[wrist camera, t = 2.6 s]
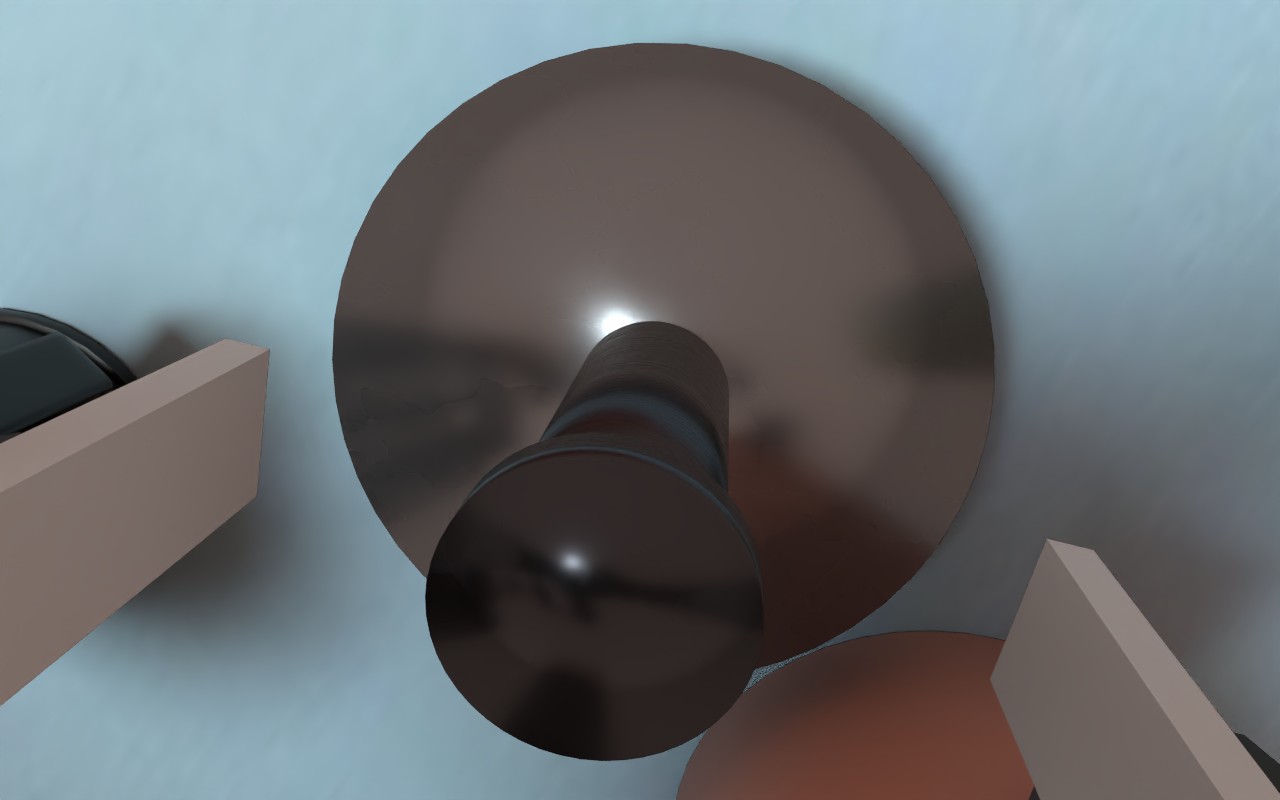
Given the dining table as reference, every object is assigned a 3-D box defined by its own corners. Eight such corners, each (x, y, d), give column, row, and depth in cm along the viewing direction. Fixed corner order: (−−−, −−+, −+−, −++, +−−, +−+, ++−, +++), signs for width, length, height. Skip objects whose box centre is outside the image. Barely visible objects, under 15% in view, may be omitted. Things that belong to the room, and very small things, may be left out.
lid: (344, 551, 27) (34, 910, 15) (417, -16, 22) (43, -151, 10) (864, 678, 27) (970, 1149, 15) (1055, 131, 22) (1448, 169, 10)
